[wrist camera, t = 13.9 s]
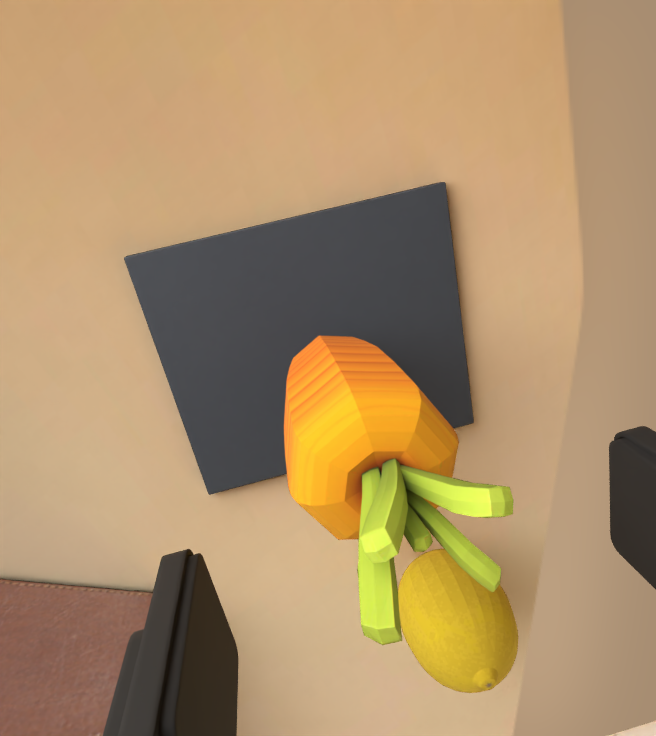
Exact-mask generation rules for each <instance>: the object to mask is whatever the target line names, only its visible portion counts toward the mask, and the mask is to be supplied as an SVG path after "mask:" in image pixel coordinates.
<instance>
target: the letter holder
mask: <svg viewBox="0 0 656 736" xmlns="http://www.w3.org/2000/svg"><path fill="white" fill-rule="evenodd" d="M152 594H153V593H148V592H140V591H125V590H116V589H114V590H113V589H109V588H105V589H104V588H95V587H81V586H72V585H62V584H47V583H35V582H26V581H14V580H6V579H0V736H103V732H104V729H105V725H106V721H107V718H108V714H109V710H110V707H111V703H112V699H113V696H114V692H115V688H116V685H117V681H118V677H119V674H120V670H121V666H122V663H123V659H124V655H125V652H126V648H127V644H128V641H129V639H130V636H131V635H132V634H133V633H134V632H135V631H138V630H142V629H144V627H145V623H146V619H147V615H148V611H149V607H150V603H151V599H152Z"/></svg>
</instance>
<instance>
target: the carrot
mask: <svg viewBox="0 0 656 736" xmlns="http://www.w3.org/2000/svg"><path fill="white" fill-rule="evenodd" d="M284 442H285V458H286V468H287V477H288V487H289V490H290V493H291V496H292V497H293V498H294V499H295V501H296V502H297V503H298V504H299V505H300V506H301V507H303V508H304V509H305V510H306V511H307V512H308V513H309V514H310V515H312V516H313V517H314V518H315V519H316V520H317V521H318V522H319V523H320V524H322V525H323V526H324V527H325V528H326V529H327V530H328V531H329V532H330V533H332V534H333V535H334V536H335V537H336V538H337V539H338V540H343V539H359V563H358V569H357V571H358V578H359V598H360V614H361V626H362V629H363V633H364V635H365V636H366V637H368V638H370V639H372V640H374V641H376V642H378V643H380V644H382V645H385V644H390V643H395V642H399V641H402V635H401V624H400V614H399V602H398V588H397V581H396V573H395V565H394V556H396V555H397V554H398V552H399V549H400V545H401V541H402V538H403V534H404V535H405V537H406V539H407V540H408V542H409V544H410V545H411V547H412V549H413V550H414V552H424V551H426V550H427V549H428V548H429V547H430V545H431V544H432V542H433V541H432V537H431V534H432V535H433V536H434V537H435V538H436V540H437V541H438V542H439V543H440V544H441V546H442V547H443V548H444V549H445V550H446V551H447V552H448V554H449V555H450V556H451V557H452V558H453V559H454V560H455V561H456V563H457V564H458V565H459V566H460V567H461V568H462V569H463V570H464V571H465V572H467V573H468V574H469V575H470V576H471V577H472V578H473V579H475V580H476V581H477V582H478V583H479V584H481V585H482V586H484V587H485V588H486V589H488V590H489V591H491V592H494V591H495V590H496V589H497V587H498V586H499V584H500V579H501V568H500V567H499V566H498V565H497V564H496V563H495V562H494V561H492V560H491V559H490V558H489V557H488V556H487V555H485V554H484V553H483V552H482V551H480V550H479V549H478V548H477V547H476V546H474V545H473V544H472V543H471V542H470V541H469V540H468V539H467V538H466V537H465V536H464V535H463V534H462V533H461V532H460V531H459V530H457V529H456V528H455V527H454V526H453V525H452V524H451V523H450V522H449V521H448V520H447V519H446V518H445V517H444V516H443V515H442V514H441V513H440V512H439V511H438V510H437V509H436V508H437V507H439V506H441V507H443V508H445V509H447V510H449V511H451V512H453V513H457V514H462V515H468V516H473V517H482V518H492V517H505V516H508V515H511V514H513V497H512V494H511V491H510V487H506V486H497V485H489V484H478V483H471V482H467V481H463V480H459V479H455V478H452V476H453V470H454V465H455V460H456V455H457V449H458V444H459V442H458V437H457V434H456V432H455V431H454V429H453V427H452V426H451V425H450V424H449V423H448V422H447V420H446V419H445V418H444V417H443V416H442V415H441V413H440V412H439V411H438V410H437V409H436V407H435V406H434V405H433V404H432V403H431V402H430V400H429V399H428V398H427V397H426V396H425V395H424V393H423V392H422V391H421V390H420V389H419V388H418V386H417V385H416V384H415V383H414V382H413V381H412V380H411V379H410V378H409V377H408V376H407V375H406V374H405V373H404V371H403V370H402V369H401V368H400V367H399V366H398V365H397V364H396V363H395V362H394V361H393V360H392V359H390V358H389V357H388V356H387V355H386V354H385V353H384V352H383V351H382V350H381V349H379V348H378V347H377V346H375V345H373V344H370V343H368V342H366V341H364V340H361V339H358V338H355V337H346V336H320V335H319V336H318V337H317V338H315V339H314V340H313V341H312V342H311V343H310V344H309V345H307V346H306V347H305V348H304V349H303V350H302V351H300V352H299V353H298V354H297V355H296V356H295V357H294V358H293V360H292V362H291V365H290V367H289V371H288V376H287V382H286V399H285V415H284ZM427 529H428V530H429V531H430V532H429V531H428V530H427ZM430 533H431V534H430Z"/></svg>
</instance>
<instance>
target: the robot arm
mask: <svg viewBox="0 0 656 736" xmlns="http://www.w3.org/2000/svg"><path fill="white" fill-rule="evenodd" d="M609 465H610V466H609V469H610V533H611V540H612V543H613V545H614V547H615V548H616V550H617V551H618V552H619V554H620V555H621V556H623V558H624V559H626V561H627V562H628V563H629V564H630V565H631V566H633V567H634V568H635V569H636V570H637V571H638V572H639V573H640V574H641V575H642V576H643V577H644V578H645V579H646V580H647V581H648V582H649V583H650V584H651V585H652V586H653V587H654V588H655V589H656V432H655V431H653V430H651V429H650V428H648V427H645V426H641V427H637V428H634V429H629V430H626V431H622V432H619V433H617V434H616V435H615V437H614V441H612V442H611V443H610V446H609ZM237 694H238V652H237V646H236V643H235V640H234V637H233V635H232V632H231V629H230V627H229V624H228V622H227V619H226V616H225V614H224V611H223V608H222V606H221V603H220V601H219V598H218V595H217V593H216V590H215V587H214V585H213V582H212V580H211V577H210V574H209V572H208V569H207V566H206V564H205V561H204V559H203V556H202V555H201V554H200V553H199V554H195V555H193V553H192V551H191V550H190V549H187V550H183V551H180V552H176V553H172V554H169V555H165V556H163V557H162V559H161V562H160V566H159V570H158V574H157V578H156V582H155V586H154V590H153V594H152V599H151V603H150V607H149V611H148V615H147V619H146V623H145V627H144V629H142V630H138V631H135V632H134V633H133V634H132V635H131V636H130V639H129V641H128V644H127V648H126V652H125V655H124V659H123V663H122V666H121V670H120V674H119V677H118V681H117V685H116V688H115V692H114V696H113V699H112V703H111V707H110V710H109V714H108V718H107V721H106V725H105V729H104V732H103V736H236V730H237ZM608 736H656V721H654V722H650V723H647V724H644V725H640V726H637V727H634V728H631V729H628V730H624V731H621V732H618V733H614V734H611V735H608Z"/></svg>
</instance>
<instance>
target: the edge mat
mask: <svg viewBox="0 0 656 736" xmlns="http://www.w3.org/2000/svg"><path fill="white" fill-rule="evenodd" d="M124 260H125V263H126V265H127V268H128V271H129V274H130V277H131V279H132V282H133V285H134V288H135V290H136V293H137V296H138V299H139V302H140V304H141V307H142V310H143V313H144V316H145V318H146V321H147V324H148V327H149V329H150V332H151V335H152V338H153V341H154V343H155V346H156V349H157V352H158V354H159V357H160V360H161V363H162V366H163V368H164V371H165V374H166V377H167V380H168V382H169V385H170V388H171V391H172V393H173V396H174V399H175V402H176V405H177V407H178V410H179V413H180V416H181V418H182V421H183V424H184V427H185V430H186V432H187V435H188V438H189V441H190V443H191V446H192V449H193V452H194V455H195V457H196V460H197V463H198V466H199V469H200V471H201V474H202V477H203V480H204V482H205V485H206V488H207V491H208V494H209V495H211V494H214V493H218V492H222V491H225V490H229V489H233V488H236V487H240V486H244V485H247V484H251V483H255V482H258V481H262V480H266V479H269V478H273V477H277V476H280V475H284V474H287V468H286V458H285V442H284V415H285V399H286V382H287V376H288V371H289V367H290V365H291V362H292V360H293V358H294V357H295V356H296V355H297V354H298V353H299V352H300V351H302V350H303V349H304V348H305V347H306V346H307V345H309V344H310V343H311V342H312V341H313V340H314V339H315V338H317V337H318V336H319V335H320V336H346V337H355V338H358V339H361V340H364V341H366V342H368V343H370V344H373V345H375V346H377V347H378V348H379V349H381V350H382V351H383V352H384V353H385V354H386V355H387V356H388V357H389V358H390V359H392V360H393V361H394V362H395V363H396V364H397V365H398V366H399V367H400V368H401V369H402V370H403V371H404V373H405V374H406V375H407V376H408V377H409V378H410V379H411V380H412V381H413V382H414V383H415V384H416V385H417V386H418V388H419V389H420V390H421V391H422V392H423V393H424V395H425V396H426V397H427V398H428V399H429V400H430V402H431V403H432V404H433V405H434V406H435V407H436V409H437V410H438V411H439V412H440V413H441V415H442V416H443V417H444V418H445V419H446V420H447V422H448V423H449V424H450V425H451V426H452V427H453V428H457V427H460V426H464V425H468V424H471V423H474V420H473V412H472V403H471V395H470V386H469V378H468V369H467V361H466V352H465V344H464V335H463V327H462V319H461V310H460V302H459V293H458V285H457V276H456V268H455V259H454V251H453V242H452V234H451V226H450V217H449V209H448V200H447V192H446V183H445V182H440V183H435V184H431V185H427V186H423V187H418V188H414V189H410V190H406V191H401V192H397V193H393V194H389V195H384V196H380V197H376V198H372V199H367V200H363V201H359V202H355V203H350V204H346V205H342V206H338V207H333V208H329V209H325V210H321V211H316V212H312V213H308V214H304V215H299V216H295V217H291V218H287V219H282V220H278V221H274V222H270V223H265V224H261V225H257V226H253V227H248V228H244V229H240V230H236V231H231V232H227V233H223V234H219V235H214V236H210V237H206V238H202V239H197V240H193V241H189V242H185V243H180V244H176V245H172V246H168V247H163V248H159V249H155V250H151V251H146V252H142V253H138V254H134V255H129V256H126V257H125V258H124Z"/></svg>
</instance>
